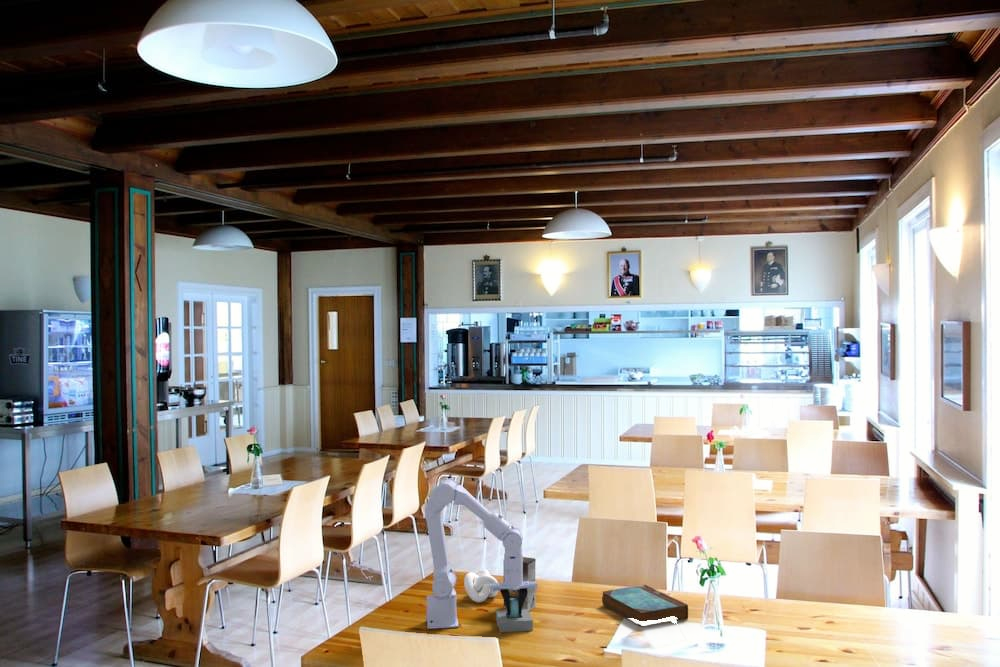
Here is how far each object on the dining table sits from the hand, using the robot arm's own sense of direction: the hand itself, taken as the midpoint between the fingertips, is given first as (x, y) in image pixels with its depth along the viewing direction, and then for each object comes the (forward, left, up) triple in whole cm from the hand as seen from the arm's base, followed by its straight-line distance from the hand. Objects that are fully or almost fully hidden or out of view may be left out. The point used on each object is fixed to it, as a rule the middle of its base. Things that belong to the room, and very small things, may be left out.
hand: (513, 613), depth 240 cm
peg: (0, 0, -2) cm, 2 cm away
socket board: (0, 0, -4) cm, 4 cm away
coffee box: (+4, +15, -4) cm, 16 cm away
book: (+43, +5, -4) cm, 43 cm away
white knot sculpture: (-8, +27, -4) cm, 29 cm away
